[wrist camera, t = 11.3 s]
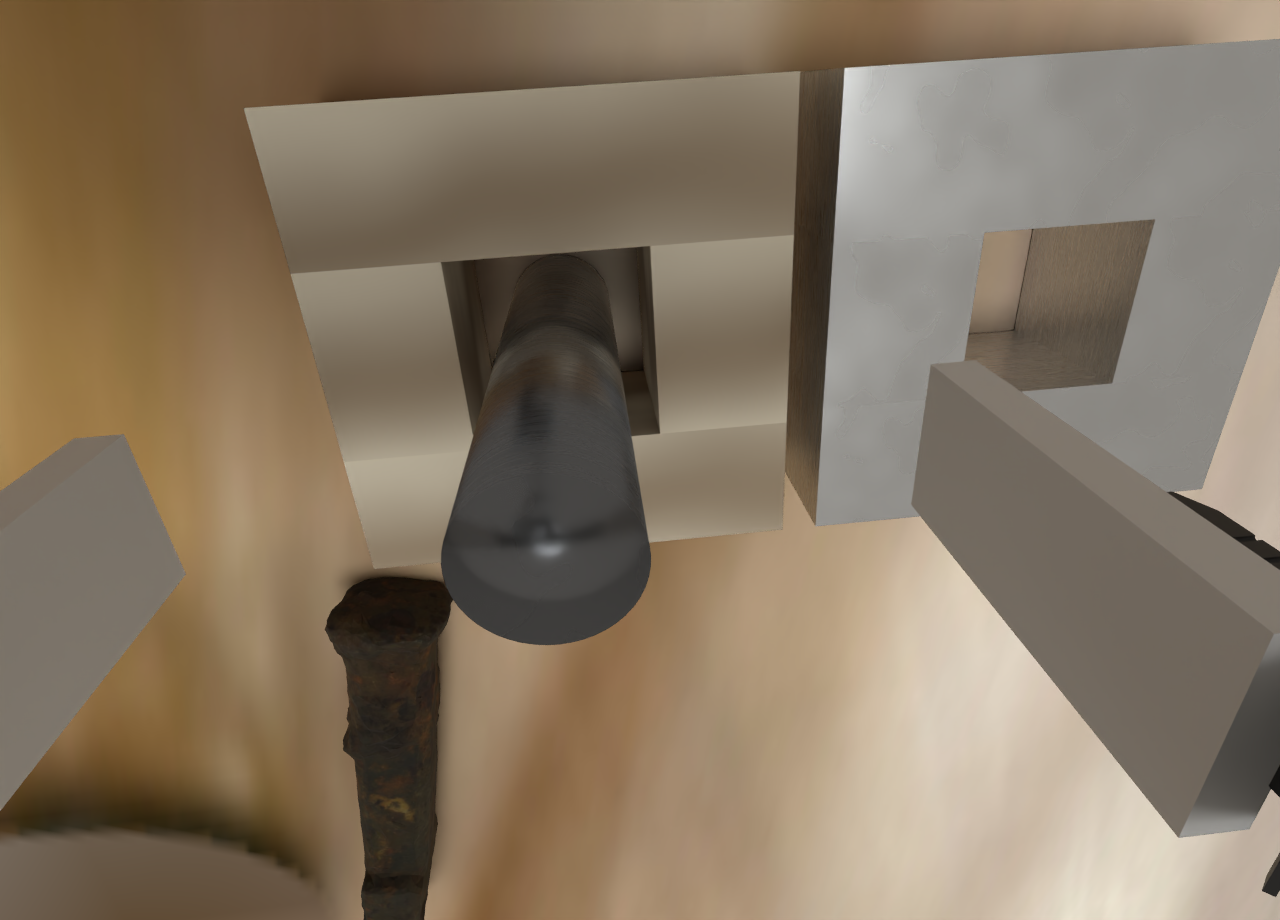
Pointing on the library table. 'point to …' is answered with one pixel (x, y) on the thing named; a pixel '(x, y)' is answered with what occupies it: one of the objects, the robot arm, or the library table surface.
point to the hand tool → (393, 732)
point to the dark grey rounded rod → (550, 472)
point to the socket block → (1057, 261)
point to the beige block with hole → (533, 225)
